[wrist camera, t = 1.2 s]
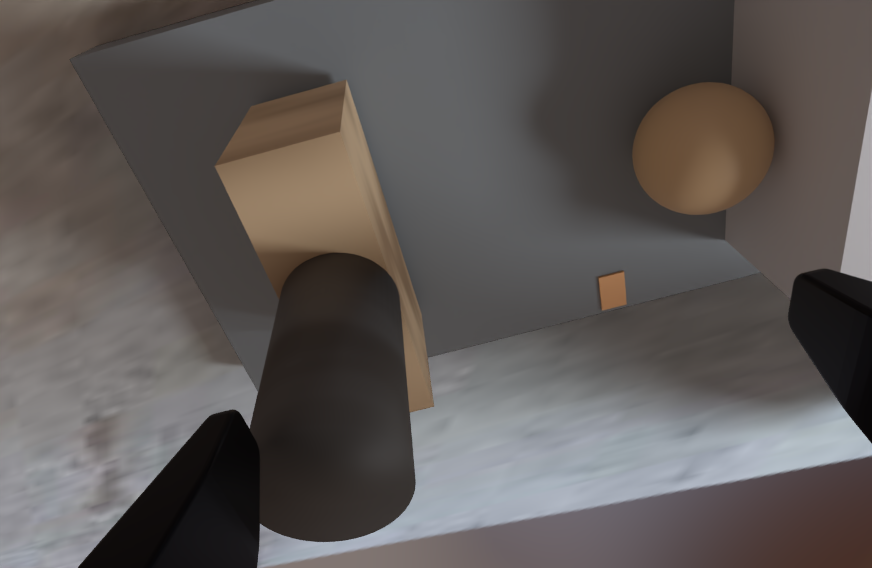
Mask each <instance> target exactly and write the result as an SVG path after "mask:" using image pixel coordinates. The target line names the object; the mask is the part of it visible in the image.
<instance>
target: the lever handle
mask: <svg viewBox="0 0 872 568" xmlns="http://www.w3.org/2000/svg"><path fill="white" fill-rule="evenodd" d="M215 168H216V170H217V172H218V174H219V176H220V178H221V180H222V182H223V184H224V187H225V189H226V191H227V193H228V195H229V197H230V199H231V201H232V203H233V205H234V207H235V209H236V211H237V213H238V216H239V218H240V220H241V222H242V224H243V226H244V228H245V230H246V232H247V234H248V236H249V238H250V240H251V243H252V245H253V247H254V249H255V251H256V253H257V255H258V257H259V259H260V261H261V263H262V265H263V267H264V270H265V272H266V274H267V276H268V278H269V280H270V282H271V284H272V286H273V288H274V290H275V292H276V294H277V297H278V299H279V303H278V308H277V312H276V316H275V321H274V325H273V329H272V334H271V338H270V343H269V347H268V351H267V356H266V360H265V364H264V369H263V373H262V377H261V382H260V386H259V391H258V395H257V399H256V404H255V408H254V412H253V417H252V421H251V425H250V431H251V433H252V434H253V436H254V438H255V440H256V442H257V444H258V447H259V451H260V524H262V525H263V526H265V527H266V528H268V529H270V530H272V531H274V532H276V533H279V534H281V535H284V536H287V537H291V538H295V539H299V540H305V541H314V542H335V541H343V540H349V539H354V538H358V537H362V536H365V535H368V534H370V533H373V532H375V531H377V530H379V529H381V528H383V527H385V526H387V525H388V524H390V523H391V522H393V521H394V520H395V519H396V518H398V517H399V516H400V515H401V514H402V513H403V512H404V511H405V509H406V508H407V506H408V505H409V503H410V501H411V499H412V497H413V494H414V491H415V483H416V482H415V470H414V459H413V447H412V435H411V423H410V412H414V411H418V410H422V409H426V408H430V407H434V402H433V395H432V388H431V380H430V373H429V366H428V358H427V351H426V344H425V336H424V329H423V322H422V314H421V311H420V308H419V305H418V301H417V298H416V295H415V292H414V289H413V286H412V283H411V280H410V276H409V273H408V270H407V267H406V264H405V261H404V258H403V254H402V251H401V248H400V245H399V242H398V239H397V236H396V233H395V229H394V226H393V223H392V220H391V217H390V214H389V211H388V208H387V204H386V201H385V198H384V195H383V192H382V189H381V186H380V182H379V179H378V176H377V173H376V170H375V167H374V164H373V161H372V157H371V154H370V151H369V148H368V145H367V142H366V139H365V136H364V132H363V129H362V126H361V123H360V120H359V117H358V114H357V111H356V107H355V104H354V101H353V98H352V95H351V92H350V89H349V85H348V82H347V80H343V81H340V82H336V83H332V84H329V85H325V86H322V87H318V88H314V89H311V90H307V91H304V92H300V93H297V94H293V95H289V96H286V97H282V98H279V99H275V100H271V101H268V102H264V103H261V104H257V105H254V106H251V107H250V109H249V111H248V112H247V114H246V116H245V117H244V119H243V120H242V122H241V124H240V125H239V127H238V129H237V130H236V132H235V134H234V135H233V137H232V139H231V140H230V142H229V143H228V145H227V147H226V148H225V150H224V152H223V153H222V155H221V157H220V158H219V160H218V161H217V163H216V165H215Z"/></svg>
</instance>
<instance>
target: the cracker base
mask: <svg viewBox="0 0 872 568" xmlns="http://www.w3.org/2000/svg"><path fill="white" fill-rule="evenodd" d="M70 61H71V63H72V65H73V67H74V68H75V70H76V72H77V74H78V75H79V77H80V79H81V81H82V82H83V84H84V86H85V88H86V89H87V91H88V93H89V95H90V96H91V98H92V100H93V102H94V104H95V105H96V107H97V109H98V111H99V112H100V114H101V116H102V118H103V119H104V121H105V123H106V125H107V126H108V128H109V130H110V132H111V133H112V135H113V137H114V139H115V141H116V142H117V144H118V146H119V148H120V149H121V151H122V153H123V155H124V156H125V158H126V160H127V162H128V163H129V165H130V167H131V169H132V170H133V172H134V174H135V176H136V177H137V179H138V181H139V183H140V185H141V186H142V188H143V190H144V192H145V193H146V195H147V197H148V199H149V200H150V202H151V204H152V206H153V207H154V209H155V211H156V213H157V214H158V216H159V218H160V220H161V222H162V223H163V225H164V227H165V229H166V230H167V232H168V234H169V236H170V237H171V239H172V241H173V243H174V244H175V246H176V248H177V250H178V251H179V253H180V255H181V257H182V259H183V260H184V262H185V264H186V266H187V267H188V269H189V271H190V273H191V274H192V276H193V278H194V280H195V281H196V283H197V285H198V287H199V288H200V290H201V292H202V294H203V296H204V297H205V299H206V301H207V303H208V304H209V306H210V308H211V310H212V311H213V313H214V315H215V317H216V318H217V320H218V322H219V324H220V325H221V327H222V329H223V331H224V333H225V334H226V336H227V338H228V340H229V341H230V343H231V345H232V347H233V348H234V350H235V352H236V354H237V355H238V357H239V359H240V361H241V362H242V364H243V366H244V368H245V370H246V371H247V373H248V375H249V377H250V378H251V380H252V382H253V384H254V385H255V387H256V389H257V391H259V386H260V382H261V377H262V373H263V369H264V364H265V360H266V356H267V351H268V347H269V343H270V338H271V334H272V329H273V325H274V321H275V316H276V312H277V308H278V303H279V299H278V297H277V294H276V292H275V290H274V288H273V286H272V284H271V282H270V280H269V278H268V276H267V274H266V272H265V270H264V267H263V265H262V263H261V261H260V259H259V257H258V255H257V253H256V251H255V249H254V247H253V245H252V243H251V240H250V238H249V236H248V234H247V232H246V230H245V228H244V226H243V224H242V222H241V220H240V218H239V216H238V213H237V211H236V209H235V207H234V205H233V203H232V201H231V199H230V197H229V195H228V193H227V191H226V189H225V187H224V184H223V182H222V180H221V178H220V176H219V174H218V172H217V170H216V168H215V165H216V163H217V161H218V160H219V158H220V157H221V155H222V153H223V152H224V150H225V148H226V147H227V145H228V143H229V142H230V140H231V139H232V137H233V135H234V134H235V132H236V130H237V129H238V127H239V125H240V124H241V122H242V120H243V119H244V117H245V116H246V114H247V112H248V111H249V109H250V107H251V106H254V105H257V104H261V103H264V102H268V101H271V100H275V99H279V98H282V97H286V96H289V95H293V94H297V93H300V92H304V91H307V90H311V89H314V88H318V87H322V86H325V85H329V84H332V83H336V82H340V81H343V80H347V82H348V85H349V89H350V92H351V95H352V98H353V101H354V104H355V107H356V111H357V114H358V117H359V120H360V123H361V126H362V129H363V132H364V136H365V139H366V142H367V145H368V148H369V151H370V154H371V157H372V161H373V164H374V167H375V170H376V173H377V176H378V179H379V182H380V186H381V189H382V192H383V195H384V198H385V201H386V204H387V208H388V211H389V214H390V217H391V220H392V223H393V226H394V229H395V233H396V236H397V239H398V242H399V245H400V248H401V251H402V254H403V258H404V261H405V264H406V267H407V270H408V273H409V276H410V280H411V283H412V286H413V289H414V292H415V295H416V298H417V301H418V305H419V308H420V311H421V314H422V322H423V329H424V336H425V344H426V351H427V358H428V357H432V356H435V355H439V354H443V353H447V352H451V351H455V350H459V349H463V348H467V347H471V346H475V345H479V344H483V343H486V342H490V341H494V340H498V339H502V338H506V337H510V336H514V335H518V334H522V333H526V332H530V331H534V330H538V329H541V328H545V327H549V326H553V325H557V324H561V323H565V322H569V321H573V320H577V319H581V318H585V317H589V316H592V315H596V314H600V313H604V312H608V311H612V310H616V309H620V308H624V307H628V306H632V305H636V304H640V303H643V302H647V301H651V300H655V299H659V298H663V297H667V296H671V295H675V294H679V293H683V292H687V291H691V290H695V289H698V288H702V287H706V286H710V285H714V284H718V283H722V282H726V281H730V280H734V279H738V278H742V277H746V276H749V275H753V274H757V273H762V274H763V275H764V276H765V277H766V278H767V279H769V280H770V281H771V282H772V283H773V284H774V285H775V286H776V287H777V288H779V289H780V290H781V291H782V292H783V293H784V294H785V295H786V296H787V297H788V298H790V299H791V294H792V287H793V282H794V279H795V278H796V276H797V275H799V274H801V273H804V272H808V271H813V270H817V269H822V268H827V269H831V270H834V271H838V272H841V273H844V274H848V275H851V276H855V277H858V278H862V279H865V280H868V281H872V0H256V1H252V2H249V3H245V4H242V5H238V6H235V7H231V8H228V9H224V10H221V11H217V12H214V13H210V14H207V15H204V16H200V17H197V18H193V19H190V20H186V21H183V22H179V23H176V24H172V25H169V26H165V27H162V28H158V29H155V30H151V31H148V32H144V33H141V34H137V35H134V36H130V37H127V38H124V39H120V40H117V41H113V42H110V43H106V44H103V45H99V46H96V47H94V48H92V49H90V50H88V51H86V52H84V53H81V54H79V55H77V56H75V57H73V58H71V59H70Z"/></svg>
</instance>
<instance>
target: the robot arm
mask: <svg viewBox="0 0 872 568" xmlns="http://www.w3.org/2000/svg"><path fill="white" fill-rule="evenodd" d="M788 320H789V324H790V327H791V329H792V331H793V333H794V334H795V336H796V337H797V339H798V340H799V342H800V343H801V345H802V346H803V348H804V350H805V351H806V353H807V354H808V356H809V357H810V359H811V360H812V362H813V363H814V365H815V366H816V368H817V369H818V371H819V372H820V374H821V375H822V377H823V378H824V380H825V382H826V383H827V385H828V386H829V388H830V389H831V391H832V392H833V394H834V395H835V397H836V398H837V400H838V401H839V402H840V404H841V405H842V407H843V408H844V409H845V411H846V412H847V413H848V415H849V416H850V417H851V418H852V420H853V421H854V422H855V423H856V425H857V426H858V427H859V428H860V430H861V431H862V432H863V433H864V434H865V436H866V437H867V438H868V439H869V441H870V442H871V443H872V281H868V280H865V279H862V278H858V277H855V276H851V275H848V274H844V273H841V272H838V271H834V270H831V269H827V268H822V269H817V270H813V271H808V272H804V273H801V274H799V275H797V276H796V278H795V279H794V282H793V287H792V294H791V300H790V306H789V312H788ZM259 534H260V451H259V447H258V444H257V442H256V440H255V438H254V436H253V434H252V433H251V431H250V429H249V428H248V426H247V424H246V422H245V421H244V419H243V417H242V415H241V414H240V413H239V412H238V411H237V410H228V411H224V412H220V413H215V414H213V415H211V416H209V417H208V418H207V419H206V420H205V421H204V422H203V424H202V425H201V426H200V427H199V428H198V429H197V431H196V432H195V433H194V434H193V435H192V436H191V437H190V439H189V440H188V441H187V442H186V443H185V444H184V446H183V447H182V448H181V449H180V450H179V451H178V452H177V454H176V455H175V456H174V457H173V458H172V459H171V461H170V462H169V463H168V464H167V465H166V466H165V467H164V469H163V470H162V471H161V472H160V473H159V474H158V476H157V477H156V478H155V479H154V480H153V481H152V482H151V484H150V485H149V486H148V487H147V488H146V489H145V491H144V492H143V493H142V494H141V495H140V496H139V497H138V499H137V500H136V501H135V502H134V503H133V504H132V505H131V507H130V508H129V509H128V510H127V511H126V512H125V514H124V515H123V516H122V517H121V518H120V519H119V520H118V522H117V523H116V524H115V525H114V526H113V527H112V529H111V530H110V531H109V532H108V533H107V534H106V535H105V537H104V538H103V539H102V540H101V541H100V542H99V544H98V545H97V546H96V547H95V548H94V549H93V550H92V552H91V553H90V554H89V555H88V556H87V557H86V559H85V560H84V561H83V562H82V563H81V564H80V565H79V567H78V568H257V563H258V552H259Z"/></svg>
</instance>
